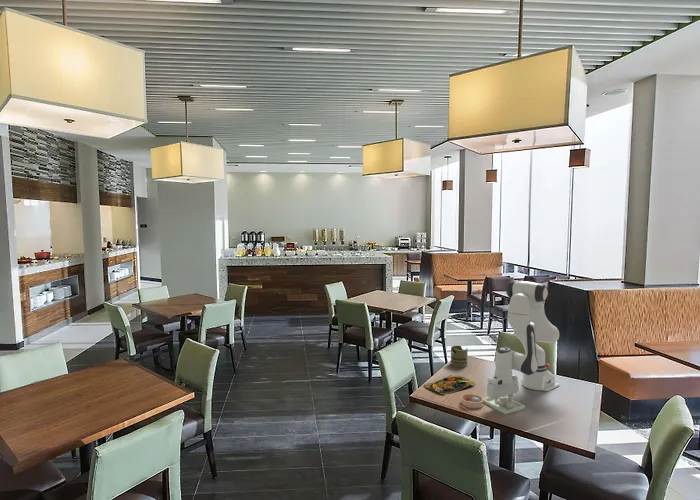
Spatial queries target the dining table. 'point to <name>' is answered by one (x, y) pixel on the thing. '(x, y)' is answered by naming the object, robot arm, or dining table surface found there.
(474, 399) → the pebble slate
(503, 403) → the pebble sand
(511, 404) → the pebble grey
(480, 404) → the bowl
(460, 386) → the prepared meal
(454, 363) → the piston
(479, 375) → the dining table surface
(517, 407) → the parts tray
